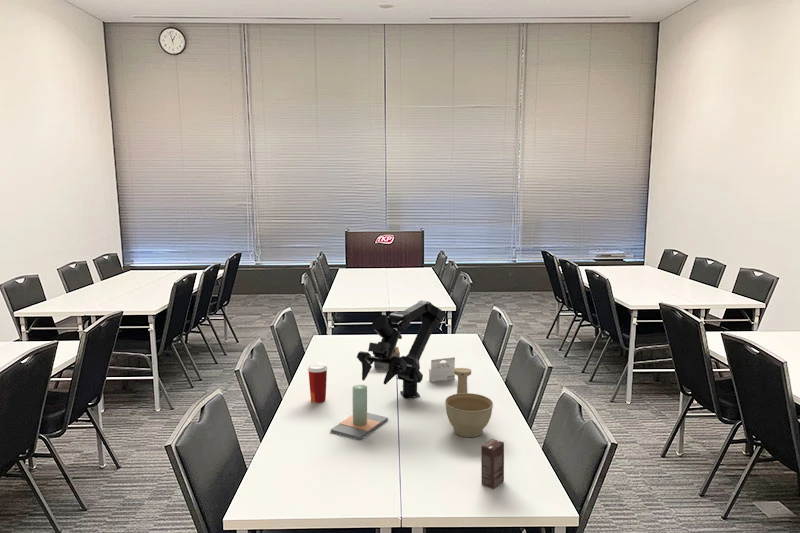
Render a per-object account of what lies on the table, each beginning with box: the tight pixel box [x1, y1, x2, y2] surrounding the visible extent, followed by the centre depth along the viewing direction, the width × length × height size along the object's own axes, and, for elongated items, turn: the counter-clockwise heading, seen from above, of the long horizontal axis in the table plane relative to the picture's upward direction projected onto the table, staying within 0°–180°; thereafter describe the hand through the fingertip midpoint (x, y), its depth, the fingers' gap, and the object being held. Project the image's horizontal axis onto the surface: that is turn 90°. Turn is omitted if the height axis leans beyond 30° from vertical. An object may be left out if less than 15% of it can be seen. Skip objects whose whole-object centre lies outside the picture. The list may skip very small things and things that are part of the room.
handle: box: [454, 367, 472, 394], centre depth 220 cm, size 5×6×15 cm
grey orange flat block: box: [330, 412, 389, 441], centre depth 206 cm, size 18×12×1 cm, turn 150°
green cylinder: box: [352, 384, 368, 426], centre depth 205 cm, size 5×5×13 cm
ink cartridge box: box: [428, 357, 456, 382], centre depth 251 cm, size 2×11×10 cm, turn 108°
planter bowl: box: [444, 392, 494, 438], centre depth 201 cm, size 16×16×11 cm
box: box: [480, 438, 505, 490], centre depth 168 cm, size 6×4×12 cm
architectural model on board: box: [373, 346, 401, 370], centre depth 266 cm, size 11×3×10 cm, turn 97°
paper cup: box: [307, 362, 328, 404], centre depth 228 cm, size 8×8×14 cm
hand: (373, 382), depth 211 cm, fingers open, 9 cm apart
